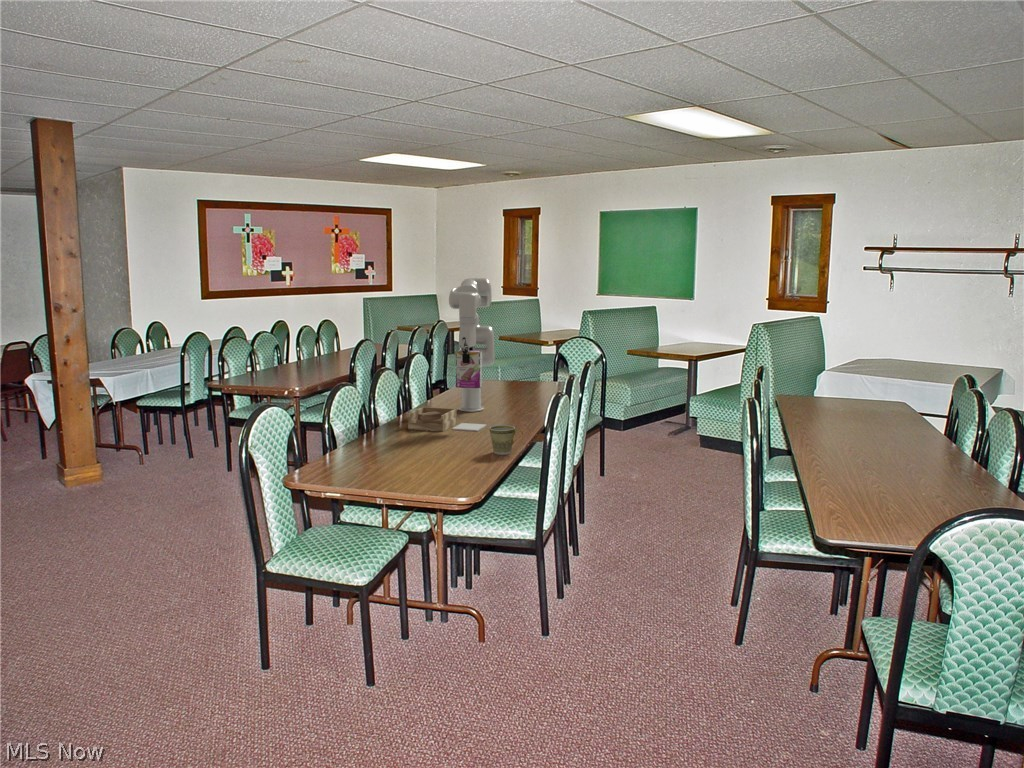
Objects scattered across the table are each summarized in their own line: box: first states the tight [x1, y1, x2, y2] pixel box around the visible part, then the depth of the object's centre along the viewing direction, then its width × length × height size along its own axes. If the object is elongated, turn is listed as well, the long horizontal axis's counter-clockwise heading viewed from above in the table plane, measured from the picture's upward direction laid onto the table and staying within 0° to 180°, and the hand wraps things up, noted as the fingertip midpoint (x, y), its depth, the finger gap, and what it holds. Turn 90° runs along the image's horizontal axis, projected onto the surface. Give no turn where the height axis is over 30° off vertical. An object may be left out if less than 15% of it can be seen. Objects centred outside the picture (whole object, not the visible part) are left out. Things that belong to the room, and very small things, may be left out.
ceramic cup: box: [488, 424, 524, 456], centre depth 292 cm, size 13×10×10 cm
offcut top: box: [418, 411, 441, 421], centre depth 337 cm, size 5×9×2 cm, turn 122°
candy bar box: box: [455, 349, 483, 389], centre depth 334 cm, size 11×5×16 cm, turn 80°
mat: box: [451, 422, 487, 432], centre depth 338 cm, size 12×12×1 cm
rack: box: [407, 406, 458, 432], centre depth 341 cm, size 17×17×7 cm
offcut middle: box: [416, 419, 441, 424], centre depth 338 cm, size 6×11×2 cm, turn 83°
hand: (468, 361), depth 334 cm, fingers closed on candy bar box, 5 cm apart
